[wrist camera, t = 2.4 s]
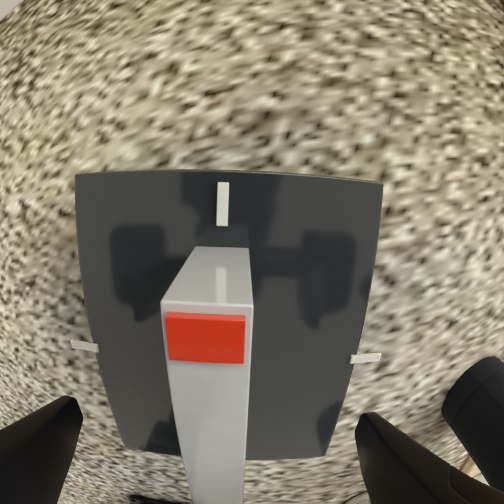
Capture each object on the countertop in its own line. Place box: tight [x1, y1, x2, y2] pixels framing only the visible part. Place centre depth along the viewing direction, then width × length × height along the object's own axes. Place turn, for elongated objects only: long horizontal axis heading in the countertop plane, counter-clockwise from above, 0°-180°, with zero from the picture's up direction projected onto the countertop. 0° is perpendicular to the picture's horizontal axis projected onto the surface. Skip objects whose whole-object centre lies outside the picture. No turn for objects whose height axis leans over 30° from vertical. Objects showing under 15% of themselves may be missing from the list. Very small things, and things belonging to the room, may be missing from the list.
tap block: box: [70, 169, 383, 460], centre depth 12 cm, size 14×13×3 cm
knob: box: [160, 246, 254, 504], centre depth 9 cm, size 9×2×5 cm, turn 177°
